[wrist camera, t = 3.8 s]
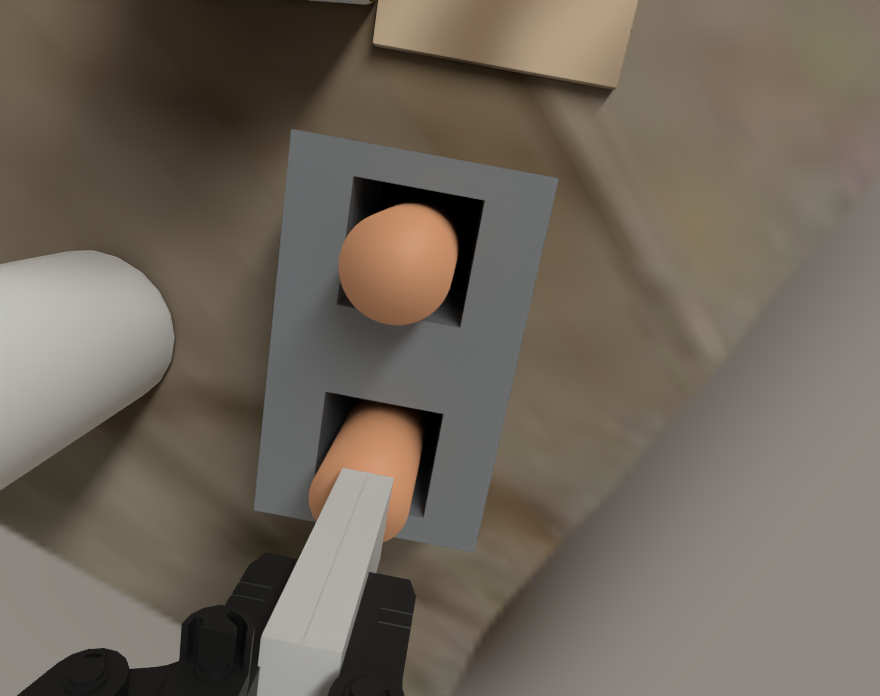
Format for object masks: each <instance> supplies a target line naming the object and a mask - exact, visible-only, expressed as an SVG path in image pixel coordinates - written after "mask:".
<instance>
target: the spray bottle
mask: <svg viewBox="0 0 880 696" xmlns="http://www.w3.org/2000/svg"><path fill="white" fill-rule="evenodd" d="M174 339H175V335H174V329H173V324H172V318H171V313H170V311H169V309H168V307H167V305H166V303H165V301H164V299H163V297H162V295H161V293H160V291H159V290H158V289H157V288H156V287H155V286H154V285H153V284H152V283H151V281H150V280H149V279H148V278H147V277H146V276H145V275H144V274H143V273H142V272H141V271H139V270H138V269H136V268H134V267H133V266H131V265H130V264H128V263H126V262H125V261H123V260H122V259H120V258H118V257H115V256H112V255H108V254H104V253H101V252H97V251H94V250H83V251H66V252H61V253H56V254H51V255H45V256H40V257H35V258H30V259H25V260H20V261H15V262H9V263H4V264H0V490H2V489H3V488H5V487H6V486H8V485H9V484H11V483H12V482H14V481H15V480H17V479H18V478H20V477H21V476H23V475H24V474H26V473H27V472H29V471H30V470H32V469H33V468H35V467H36V466H38V465H39V464H41V463H42V462H44V461H45V460H47V459H48V458H50V457H51V456H53V455H54V454H56V453H57V452H59V451H60V450H62V449H63V448H65V447H66V446H68V445H69V444H71V443H72V442H74V441H75V440H77V439H78V438H80V437H81V436H83V435H84V434H86V433H87V432H89V431H90V430H92V429H93V428H95V427H96V426H98V425H99V424H101V423H102V422H104V421H105V420H107V419H108V418H110V417H111V416H113V415H114V414H116V413H117V412H119V411H120V410H122V409H123V408H125V407H126V406H128V405H129V404H131V403H133V402H134V401H136V400H137V399H139V398H140V397H142V396H143V395H144V394H146V393H147V392H148V391H149V390H150V389H152V388H153V387H154V386H155V385H156V384H157V383H159V382H160V381H161V379H162V377H163V375H164V374H165V372H166V370H167V368H168V366H169V364H170V363H171V359H172V353H173V346H174Z"/></svg>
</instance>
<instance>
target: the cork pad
mask: <svg viewBox="0 0 880 696" xmlns="http://www.w3.org/2000/svg"><path fill="white" fill-rule="evenodd" d="M637 3H638V0H378V7H377V15H376V22H375V30H374V38H373V44H374V45H375V46H376V47H382V48H387V49H393V50H398V51H404V52H409V53H415V54H420V55H426V56H431V57H436V58H442V59H447V60H453V61H458V62H464V63H469V64H475V65H480V66H486V67H491V68H497V69H502V70H507V71H513V72H518V73H524V74H529V75H535V76H540V77H546V78H551V79H557V80H562V81H567V82H573V83H578V84H584V85H589V86H595V87H600V88H606V89H611V90H614V89H616V88H617V85H618V81H619V77H620V73H621V69H622V65H623V61H624V57H625V52H626V48H627V44H628V40H629V36H630V32H631V28H632V24H633V19H634V15H635V11H636V7H637Z"/></svg>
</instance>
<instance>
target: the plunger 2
mask: <svg viewBox="0 0 880 696" xmlns="http://www.w3.org/2000/svg"><path fill="white" fill-rule="evenodd" d="M425 433H426V423H425V419H424V415H423V413H422V411H421V410H420V409H414V408H409V407H404V406H399V405H393V404H388V403H383V402H378V401H372V400H367V399H362V398H360V399H359V400H358V401H357V402H356V403H355V404H354V406H353V407H352V409H351V411H350V413H349V415H348V416H347V418H346V420H345V422H344V424H343V426H342V427H341V429H340V431H339V433H338V435H337V437H336V439H335V440H334V442H333V444H332V446H331V448H330V450H329V452H328V453H327V455H326V457H325V459H324V461H323V463H322V464H321V466H320V468H319V470H318V472H317V474H316V476H315V477H314V479H313V481H312V484H311V486H310V490H309V506H310V510H311V513H312V516H313V518H314V520H315V521H316V522H317V520H318V518H319V516H320V514H321V511H322V509H323V507H324V505H325V503H326V501H327V499H328V497H329V495H330V493H331V491H332V489H333V487H334V485H335V482H336V480H337V478H338V476H339V474H340V472H341V470H342V468H347V469H352V470H357V471H363V472H368V473H373V474H378V475H383V476H388V477H393V478H394V481H393V487H392V493H391V499H390V504H389V510H388V516H387V522H386V527H385V533H384V539H383V543H384V542H386V541H388V540H390V539H391V538H393V537H394V536H395V535H396V534H398V533H399V531H400V530H401V529H402V528H403V526H404V525H405V523H406V520H407V518H408V514H409V510H410V505H411V501H412V496H413V491H414V486H415V481H416V477H417V472H418V467H419V462H420V457H421V453H422V448H423V443H424V438H425Z"/></svg>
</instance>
